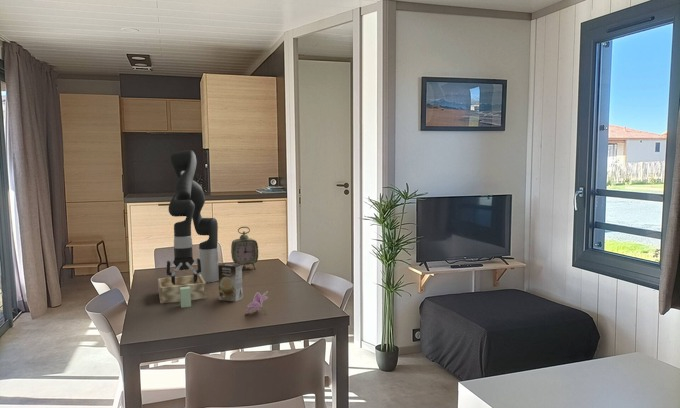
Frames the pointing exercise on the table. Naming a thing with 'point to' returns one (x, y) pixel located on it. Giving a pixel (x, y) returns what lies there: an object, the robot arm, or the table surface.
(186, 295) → the peg
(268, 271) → the table surface
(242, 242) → the tabletop clock
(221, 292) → the coffee box
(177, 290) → the box
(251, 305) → the lily
